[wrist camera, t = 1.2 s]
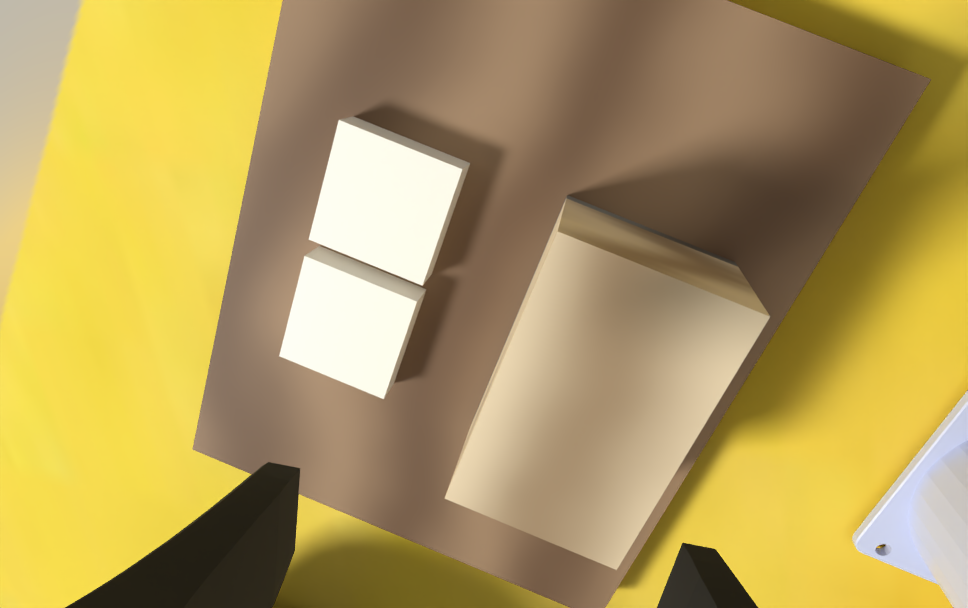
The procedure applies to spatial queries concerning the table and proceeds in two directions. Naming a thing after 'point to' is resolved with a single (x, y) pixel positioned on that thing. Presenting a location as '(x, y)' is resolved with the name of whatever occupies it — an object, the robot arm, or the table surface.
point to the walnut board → (525, 219)
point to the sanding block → (604, 382)
